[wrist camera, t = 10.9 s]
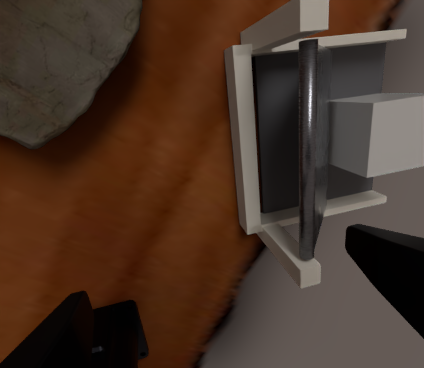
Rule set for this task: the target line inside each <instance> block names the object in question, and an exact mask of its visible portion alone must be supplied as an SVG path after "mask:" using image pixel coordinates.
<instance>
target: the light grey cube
mask: <svg viewBox="0 0 424 368" xmlns="http://www.w3.org/2000/svg"><path fill="white" fill-rule="evenodd" d="M328 163H329V164H331V165H334V166H337V167H339V168H342V169H345V170H347V171H350V172H352V173H355V174H358V175H360V176H363V177H366V178H369V177H374V176H378V175H383V174H388V173H393V172H398V171H402V170H407V169H412V168H417V167H422V166H424V94H420V93H419V94H417V93H414V94H413V93H411V94H410V93H409V94H405V93H404V94H402V93H400V94H399V93H398V94H396V93H395V94H392V93H391V94H390V93H389V94H387V93H385V94H383V93H378V94H371V95H364V96H357V97H350V98H342V99H335V100H330V124H329V152H328Z"/></svg>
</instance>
